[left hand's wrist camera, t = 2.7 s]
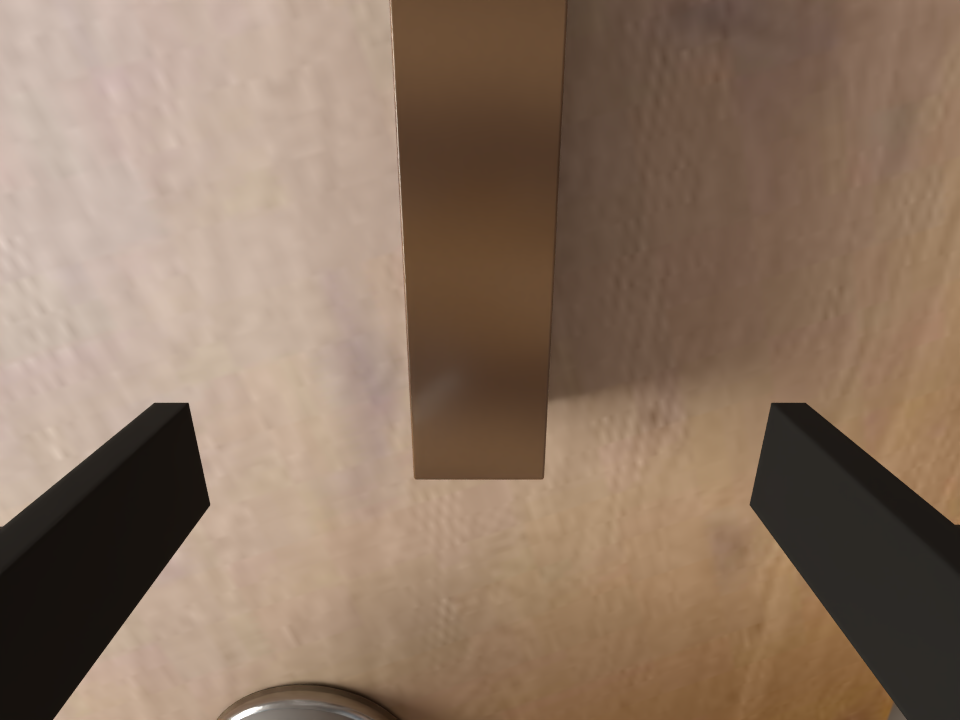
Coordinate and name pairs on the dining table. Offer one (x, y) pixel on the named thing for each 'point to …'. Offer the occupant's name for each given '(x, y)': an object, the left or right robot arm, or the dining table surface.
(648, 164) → the dining table surface
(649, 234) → the dining table surface
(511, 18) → the post
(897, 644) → the left robot arm
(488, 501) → the dining table surface
